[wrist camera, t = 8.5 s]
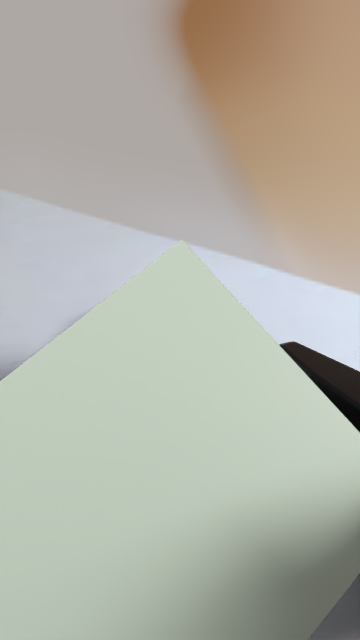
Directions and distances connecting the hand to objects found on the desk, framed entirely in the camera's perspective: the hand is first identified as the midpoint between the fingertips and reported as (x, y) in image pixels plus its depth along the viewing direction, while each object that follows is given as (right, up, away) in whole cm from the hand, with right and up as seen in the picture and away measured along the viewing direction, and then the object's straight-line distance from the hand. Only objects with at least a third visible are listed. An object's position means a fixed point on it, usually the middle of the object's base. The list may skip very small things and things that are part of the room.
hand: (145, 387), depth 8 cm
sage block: (0, -3, +6) cm, 7 cm away
